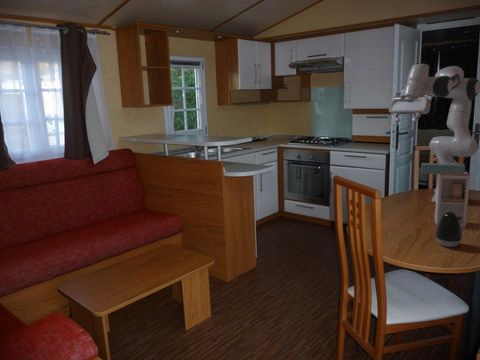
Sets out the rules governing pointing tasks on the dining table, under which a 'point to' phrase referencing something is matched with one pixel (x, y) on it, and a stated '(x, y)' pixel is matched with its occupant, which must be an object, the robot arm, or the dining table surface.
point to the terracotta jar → (456, 190)
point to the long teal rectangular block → (442, 168)
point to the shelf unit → (444, 196)
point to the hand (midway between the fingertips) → (405, 122)
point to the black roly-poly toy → (449, 230)
